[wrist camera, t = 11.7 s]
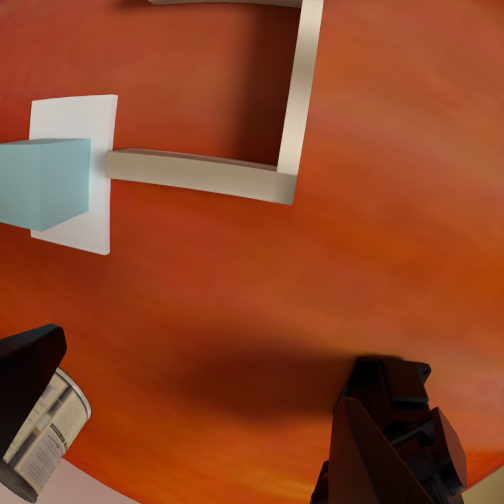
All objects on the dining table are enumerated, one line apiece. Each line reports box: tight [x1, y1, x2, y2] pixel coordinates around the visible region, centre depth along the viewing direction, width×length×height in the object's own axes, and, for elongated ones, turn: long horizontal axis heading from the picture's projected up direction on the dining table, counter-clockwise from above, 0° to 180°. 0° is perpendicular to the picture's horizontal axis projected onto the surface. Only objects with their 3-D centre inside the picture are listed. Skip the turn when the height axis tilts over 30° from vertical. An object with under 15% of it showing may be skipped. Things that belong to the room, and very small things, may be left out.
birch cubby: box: [105, 0, 323, 205], centre depth 15 cm, size 13×10×3 cm
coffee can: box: [0, 367, 91, 504], centre depth 23 cm, size 10×10×14 cm
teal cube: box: [0, 138, 91, 232], centre depth 17 cm, size 5×5×5 cm
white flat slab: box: [29, 95, 118, 255], centre depth 20 cm, size 11×8×1 cm
